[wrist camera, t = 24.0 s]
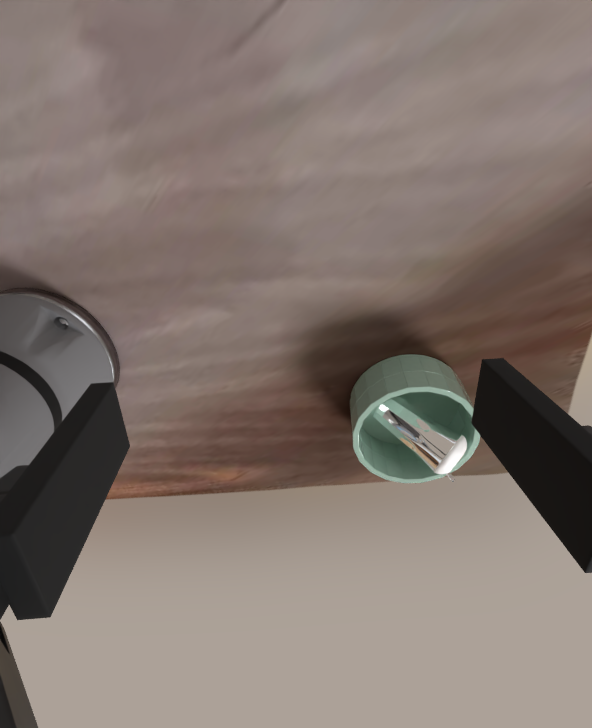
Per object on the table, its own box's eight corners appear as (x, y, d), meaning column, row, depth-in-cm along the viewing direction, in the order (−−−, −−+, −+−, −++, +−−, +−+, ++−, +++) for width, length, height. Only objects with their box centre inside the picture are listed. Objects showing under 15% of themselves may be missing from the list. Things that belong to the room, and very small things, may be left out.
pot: (351, 446, 50) (354, 484, 45) (347, 357, 44) (351, 390, 39) (457, 442, 49) (472, 481, 44) (469, 350, 43) (488, 383, 38)
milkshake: (363, 433, 46) (443, 496, 42) (375, 405, 42) (466, 473, 38) (386, 408, 48) (464, 466, 45) (400, 379, 44) (487, 441, 41)
